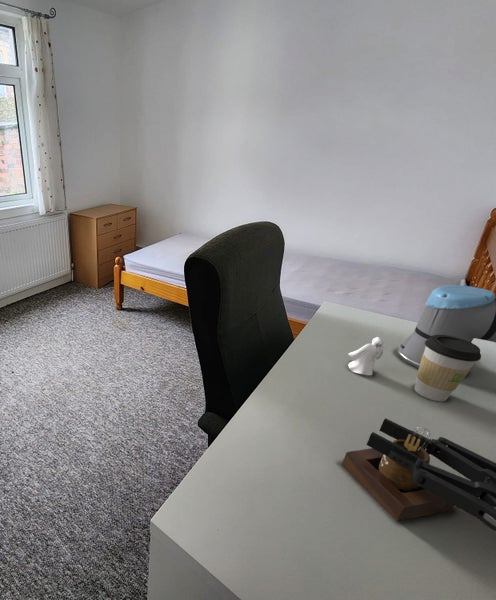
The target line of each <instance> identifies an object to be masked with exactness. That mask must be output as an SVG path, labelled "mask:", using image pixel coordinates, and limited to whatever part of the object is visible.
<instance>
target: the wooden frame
mask: <svg viewBox="0 0 496 600" xmlns="http://www.w3.org/2000/svg"><path fill="white" fill-rule="evenodd" d="M383 455H384V454H382V453H380V452H378V451H377V450H375V449H373V448H371V447H369V448H365V449H358V450H351V451H346V452H345V455H344V457H343V459H342V462H341V466H342V468H344V470H346V472H348V473H349V475H350V476H352V478H353V479H354V480H356V481H357V482H358V484H360V485H361V487H363V488H364V489H365V491H366V492H367V493H368V494H369V495H370V496H371V497H372V498H373V499H374V500H375V501H376V502H377V503H378V504H379V505H380V506H381V507H382V508H383V509H384V510H385V511H386V512H387V513H388V514H389V515H390V516H391V517H392V518H393V520H395V521H396V522H399V521H404V520H410V519H415V518H419V517H426V516H430V515H435V514H440V513H445V512H446V513H447V512H451V511H453V510H454V508H456V506H454V505H453V504H451V503H449V502H447V501H445V500H444V499H442V498H440V497H438V496H436V495H435V494H433V493H431V492H429V491H428V490H426V489H424V488H422V487H419V488H418V489H417V490H415V491H407V492H402V491H401V490H400V489H398V488H396V487H395V486H394V485H393V484H392V483H391V482H390V481H389V480H387V479H386V478H385V477H384V476H383V475H382V474H381V473H380V472H379V469H378V468H379V464H380V461H381V459H382V457H383ZM424 481H425V482H426V480H424Z"/></svg>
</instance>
